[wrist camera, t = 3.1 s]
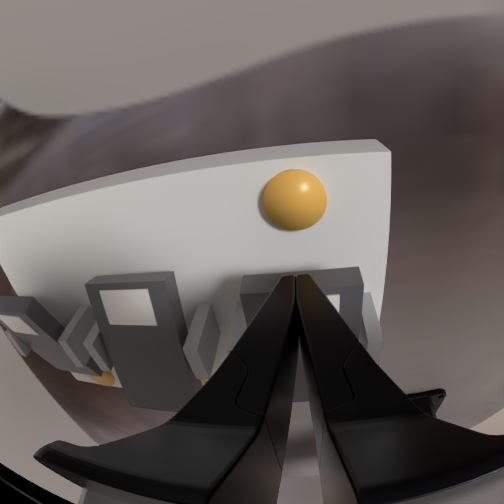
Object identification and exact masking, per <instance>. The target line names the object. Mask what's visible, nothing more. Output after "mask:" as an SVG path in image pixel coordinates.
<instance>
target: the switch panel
mask: <svg viewBox="0 0 504 504" xmlns="http://www.w3.org/2000/svg"><path fill="white" fill-rule="evenodd" d="M390 202H391V151H390V150H388V149H387V148H386V147H385V146H384V145H382V144H381V143H380V142H379V141H377V140H376V139H367V140H345V141H329V142H315V143H303V144H293V145H283V146H273V147H265V148H256V149H249V150H241V151H234V152H227V153H220V154H214V155H207V156H201V157H196V158H190V159H184V160H179V161H173V162H168V163H163V164H158V165H153V166H148V167H144V168H139V169H134V170H130V171H126V172H121V173H117V174H113V175H109V176H105V177H101V178H97V179H93V180H89V181H85V182H81V183H78V184H74V185H71V186H67V187H63V188H60V189H57V190H53V191H50V192H47V193H43V194H40V195H37V196H34V197H31V198H28V199H25V200H22V201H19V202H16V203H13V204H10V205H7V206H4V207H1V208H0V264H1V266H2V268H3V270H4V272H5V274H6V276H7V277H8V279H9V281H10V283H11V285H12V286H13V288H14V290H15V292H16V293H17V295H18V296H33V297H34V298H35V299H36V300H37V301H38V302H39V303H40V304H41V305H42V306H43V307H44V308H45V309H46V310H47V311H48V312H49V313H50V314H51V315H52V316H53V317H54V318H55V319H56V320H57V321H58V322H59V323H60V324H61V325H62V326H64V327H65V330H64V331H63V333H62V334H61V336H60V338H59V339H58V342H59V343H60V345H61V346H62V348H63V349H64V350H65V352H66V353H67V355H68V356H69V357H70V359H71V360H72V361H73V363H74V364H75V365H76V367H82V368H85V366H86V364H87V362H88V360H89V358H90V356H92V358H93V359H94V361H95V362H96V363H97V365H98V366H99V368H100V369H101V370H102V371H103V374H102V377H98V376H92V375H86V374H80V373H75V372H71V373H72V375H73V376H74V377H75V378H76V380H79V381H85V382H90V383H95V384H101V385H104V386H114V387H120V388H122V385H121V383H120V381H119V379H118V376H117V374H116V372H115V369H114V367H113V364H112V362H111V359H110V357H109V354H108V352H107V349H106V347H105V344H104V341H103V339H102V336H101V333H100V330H99V328H98V325H97V322H96V319H95V316H94V313H93V310H92V307H91V304H90V301H89V298H88V294H87V291H86V288H85V283H87V282H88V281H90V280H91V279H93V278H94V277H96V276H102V275H119V274H136V273H152V272H167V271H174V275H175V279H176V284H177V288H178V293H179V297H180V301H181V306H182V310H183V314H184V318H185V322H186V326H187V330H188V335H187V338H186V341H185V344H184V347H183V352H184V354H185V356H186V358H187V360H188V362H189V364H190V366H191V369H192V371H193V373H194V375H195V377H196V379H201V382H202V386H203V385H204V384H205V383H206V382H207V381H208V380H209V378H210V377H211V376H212V375H213V374H214V373H215V372H216V370H217V369H218V368H219V366H220V365H221V364H222V362H223V361H224V360H225V358H226V357H227V356H228V354H229V353H230V351H231V350H233V347H234V346H235V344H236V343H237V341H238V340H239V338H240V337H241V335H242V334H243V333H244V331H245V330H246V328H247V323H246V319H245V315H244V311H243V307H242V303H241V299H240V295H239V293H240V288H241V283H242V278H243V275H255V274H269V273H283V272H296V271H309V270H322V269H334V268H346V267H357V266H359V269H360V272H361V276H362V279H363V282H364V293H363V305H362V315H361V325H360V334H359V342H361V343H362V345H363V346H364V348H365V349H366V350H367V352H368V353H369V354H370V356H371V357H372V358H373V359H374V361H375V362H376V363H377V364H378V365H379V361H380V356H381V351H382V347H383V342H384V339H383V335H382V331H381V328H380V324H379V319H380V313H381V306H382V298H383V290H384V282H385V273H386V263H387V252H388V239H389V224H390ZM5 334H6V335H7V337H8V338H9V339H10V341H11V342H12V343H13V345H14V346H15V347H16V349H17V350H18V351H19V353H20V354H21V355H22V356H26V357H27V356H28V354H29V353H30V351H31V350H32V349H30V348H29V347H28V346H27V345H25V344H24V343H23V342H22V341H20V340H19V339H18V338H17V337H16V336H14V335H13V334H12V333H11V332H10V331H9V330H6V331H5Z"/></svg>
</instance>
